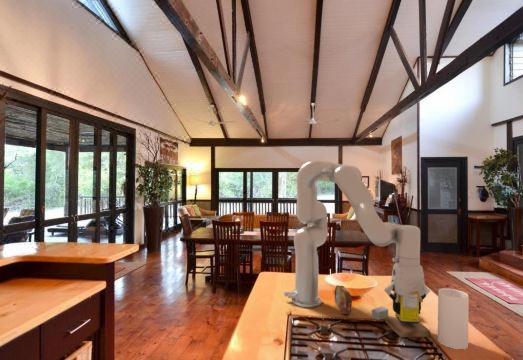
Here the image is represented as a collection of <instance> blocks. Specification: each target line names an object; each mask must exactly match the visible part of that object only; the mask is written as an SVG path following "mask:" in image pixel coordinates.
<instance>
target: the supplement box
mask: <svg viewBox="0 0 523 360" xmlns="http://www.w3.org/2000/svg"><path fill="white" fill-rule="evenodd" d="M399 303H400V314H397V313H396V312H394V314H395V316H394V317H397V318H398V320H399V321H400V322H401V323H412V324H419V322H420V314H419V292H409V295H408V296H400V299H399Z"/></svg>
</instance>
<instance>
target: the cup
mask: <svg viewBox="0 0 523 360" xmlns="http://www.w3.org/2000/svg"><path fill="white" fill-rule="evenodd" d="M437 292H438V293H437V294H438V295H437V306H438V307H437V341H438V342H439V343H440V344H441V345H442V346H444V345H445V347H447V348H449V347H450V348H449V349H452V348H453V350H458V349H464V350H466V348H467V349H468V348H469V311H470V310H469V303H470V301H469V300H470V297H469V294H468V293H467V292H464V291H462V290H458V289H456V288H448V287H447V288H444V287H443V288H439V289H438V291H437Z"/></svg>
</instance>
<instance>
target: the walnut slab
mask: <svg viewBox="0 0 523 360" xmlns="http://www.w3.org/2000/svg"><path fill="white" fill-rule="evenodd" d="M385 319H386V320H385V323H386V324H387V326H389V327H390V328H391V329H392V330H393V331H394V330H395V331H396V332H395V331H394V332H395V333H396V335H398V336H399V337H400V338H417V337H418V338H420V337H421V338H422V337H423V338H426V337H431V330H430V329H428V328H427V327H426V326H425V325H424V324H422V323H421V322H420V321H419V324H412V323H401V322H400V321H399V320H398V318H397V317H396V316H393V317H392V316H391V317H390V316H388V317H386V318H385Z"/></svg>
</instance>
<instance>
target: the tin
mask: <svg viewBox="0 0 523 360" xmlns="http://www.w3.org/2000/svg"><path fill="white" fill-rule="evenodd" d="M334 303H335V306H336V307H337V309H339V311H340V313H341V314H342V315H350V314H351V312H352V303H353V300H352V296H351V293H350V292H349V290H348V289H347V288H346V287H345V286H344V285H335V288H334Z"/></svg>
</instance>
